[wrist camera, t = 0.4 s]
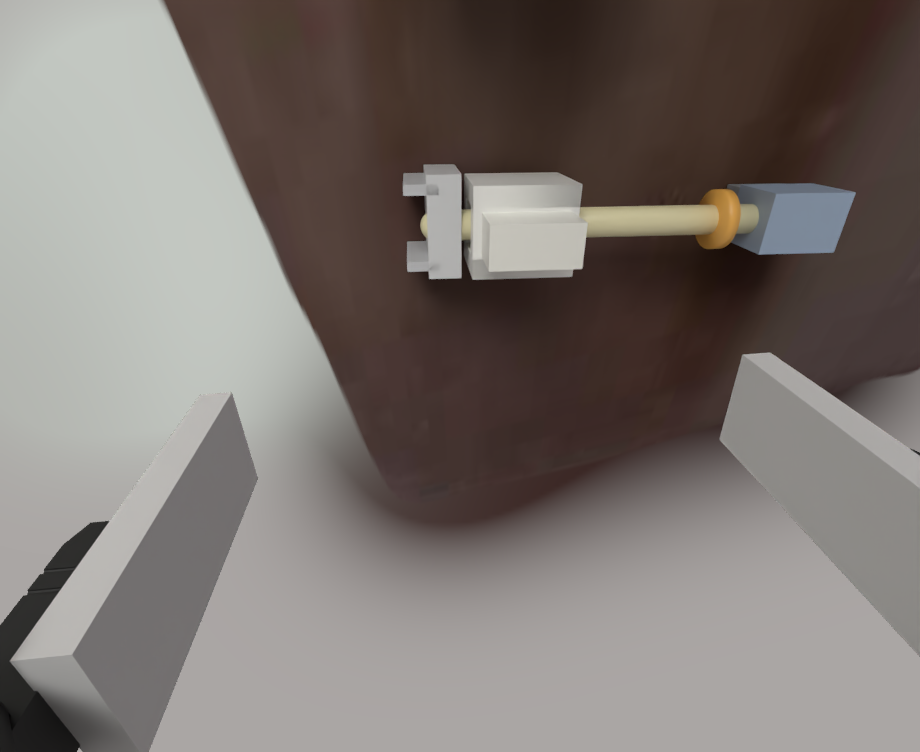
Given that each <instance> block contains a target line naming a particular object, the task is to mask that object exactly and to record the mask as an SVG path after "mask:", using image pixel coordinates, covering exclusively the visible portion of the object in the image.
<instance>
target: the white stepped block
mask: <svg viewBox="0 0 920 752" xmlns="http://www.w3.org/2000/svg"><path fill="white" fill-rule="evenodd" d="M582 186H583V184H581V183H579V182H577V181H575V180H573V179H571V178H569V177H566V176H564V175H562V174H560V173H558V172H540V173H467V174H464V209H471V240H464V257H465V260H466V263H467V266H468V269H469V271H470V274H471V277H472V280H485V279H518V278H550V277H572V275H573V269H582V267H583V259H584V251H585V243H586V234H587V226H588V222H586V221H585V220H583V219H582V218H580V217H579V213H580V204H581V195H582Z"/></svg>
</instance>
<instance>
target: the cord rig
mask: <svg viewBox="0 0 920 752" xmlns="http://www.w3.org/2000/svg"><path fill="white" fill-rule="evenodd" d="M423 168H424V173H404V174H403V196H424V197H425V215H424V216H423V217H422V219H421V223H420V227H421V231H422V233H423V235H424V236H425V237H426V241H407V271H408V272H420V271H428V273H429V279H451V278H461V240H471V209H461V173H460V172H459V170H458V169H457V167H456V166H455V165H454V164H431V165H423ZM855 193H856V192H852V191H847V190H842V189H838V188H833V187H828V186H823V185H818V184H813V183H806V184H783V183H778V184H728V185H727V189H713V190H710V191H709V192H707V193H706V194H705V195H704V197H703V198H702V200H701V201H700V203H699V205H667V206H615V207H580V213H579V217H580V218H582V219H583V220H585V221H586V222H588V226H587V234H586V237H624V236H666V235H696V239H697V241H698V243H699V245H700V246H701V247H703V248H705V249H721V248H724V247H726V246H727V245H729V243H730V242H731V243H733V244H736V245H738V246H740V247H742V248H745V249H747V250H749V251H752V252H754V253H756V254H758V255H761V254H797V253H833V252H834V250H835V247H836V245H837V242H838V239H839V237H840V234H841V231H842V229H843V226H844V223H845V220H846V218H847V215H848V212H849V210H850V207H851V204H852V202H853V199H854V196H855Z"/></svg>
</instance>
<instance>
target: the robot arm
mask: <svg viewBox="0 0 920 752" xmlns="http://www.w3.org/2000/svg"><path fill="white" fill-rule="evenodd" d="M719 440H720V441H721V442H722V443H723V444H724V445H725V446H726V447H727V448H728V449H729V451H730V452H731V453H732V454H733V455H734V456H735V457H736V458H737V459H738V460H739V461H740V462H741V464H742V465H743V466H744V467H746V469H747V470H748V471H749V472H750V473H751V474H752V475H753V476H754V477H755V479H756V480H757V481H758V482H759V483H760V484H761V485H762V486H763V487H764V488H765V490H767V492H768V493H769V494H770V495H771V496H772V497H773V498H774V499H775V500H776V501H777V502H778V503H779V505H780V506H781V507H782V508H783V509H784V510H785V511H786V512H787V513H788V514H789V515H790V517H791V518H792V519H793V520H794V521H795V522H796V523H797V524H798V525H799V526H800V527H801V528H802V530H803V531H804V532H805V533H806V534H807V535H808V536H809V537H810V538H811V539H812V540H813V542H814V543H815V544H816V545H817V546H818V547H819V548H820V549H821V550H822V551H823V552H824V553H825V554H826V556H828V558H829V559H830V560H831V561H832V562H833V563H834V564H835V565H836V566H837V568H838V569H839V570H840V571H841V572H842V573H843V574H844V575H845V576H846V577H847V578H848V579H849V580H850V582H851V583H852V584H853V585H854V586H855V587H856V588H857V589H858V590H859V591H860V592H861V593H862V594H863V596H864V597H865V598H866V599H867V600H868V601H869V602H870V603H871V604H872V605H873V606H874V608H875V609H876V610H877V611H878V612H879V613H880V614H881V615H882V616H883V617H884V618H885V619H886V621H887V622H888V623H889V624H890V625H891V626H892V627H893V628H894V629H895V630H896V631H897V632H898V633H899V635H900V636H901V637H902V638H903V639H904V640H905V641H906V642H907V643H908V644H909V645H910V647H912V649H913V650H914V651H915V652H916V653H917V654H918V655H919V656H920V453H919V452H917V451H915V450H912V449H909V448H908V447H906V446H905V445H903V444H902V443H901V442H899V441H898V440H896V439H895V438H893V437H892V436H890V435H889V434H887V433H886V432H885V431H883V430H882V429H880V428H879V427H877V426H876V425H875V424H873V423H872V422H870V421H869V420H867V419H866V418H864V417H863V416H861V415H860V414H859V413H857V412H856V411H854V410H853V409H851V408H850V407H848V406H847V405H846V404H844V403H843V402H841V401H840V400H838V399H837V398H835V397H834V396H832V395H831V394H830V393H828V392H827V391H825V390H824V389H822V388H821V387H819V386H818V385H817V384H815V383H814V382H812V381H811V380H809V379H808V378H806V377H805V376H804V375H802V374H801V373H799V372H798V371H796V370H795V369H793V368H792V367H791V366H789V365H788V364H786V363H785V362H783V361H782V360H780V359H779V358H777V357H776V356H775V355H773V354H772V353H758V354H744V355H742V358H741V362H740V366H739V369H738V373H737V377H736V380H735V384H734V388H733V391H732V395H731V399H730V402H729V406H728V410H727V413H726V417H725V421H724V424H723V428H722V432H721V435H720V439H719ZM257 480H258V477H257V474H256V471H255V468H254V464H253V461H252V458H251V454H250V451H249V448H248V444H247V441H246V438H245V435H244V431H243V428H242V424H241V421H240V418H239V415H238V412H237V408H236V405H235V401H234V398H233V395H232V393H217V394H203V395H199V397H198V398H197V400H196V401H195V402H194V404H193V405H192V407H191V408H190V409H189V411H188V412H187V414H186V415H185V416H184V418H183V419H182V421H181V422H180V423H179V425H178V426H177V428H176V429H175V430H174V432H173V433H172V435H171V436H170V437H169V439H168V440H167V442H166V443H165V444H164V446H163V447H162V449H161V450H160V451H159V453H158V454H157V456H156V457H155V458H154V460H153V461H152V463H151V464H150V465H149V467H148V468H147V470H146V471H145V472H144V474H143V475H142V477H141V478H140V479H139V481H138V482H137V484H136V485H135V487H134V488H133V489H132V491H131V492H130V493H129V495H128V496H127V498H126V499H125V500H124V502H123V503H122V505H121V506H120V508H119V509H118V510H117V512H116V513H115V514H114V516H113V517H112V519H111V520H110V521H105V522H94V523H90V524H89V525H87V526H86V527H85V528H84V529H83V530H81V531H80V532H79V533H77V534H76V535H75V536H74V537H72V538H71V539H70V540H69V541H67V542H66V543H65V544H64V545H63V546H62V547H61V548H60V549H59V551H58V552H57V553H56V555H55V556H54V557H53V559H52V560H51V561H50V562H49V564H48V565H47V566H46V568H45V569H44V574H40V575H39V576H38V578H37V579H36V580H35V582H34V583H33V584H32V586H31V587H30V588H29V589H28V594H27V595H26V596H23V597H22V598H21V599H20V601H19V602H18V603H17V605H16V606H15V607H14V608H13V610H12V611H11V612H10V614H9V615H8V616H7V617H6V619H5V620H4V622H3V623H2V624H1V625H0V752H77V750H78V748H80V749H81V750H82V751H83V752H149V749H150V747H151V744H152V742H153V739H154V737H155V735H156V732H157V730H158V727H159V724H160V722H161V719H162V717H163V714H164V712H165V710H166V707H167V705H168V702H169V699H170V697H171V695H172V692H173V690H174V687H175V684H176V682H177V679H178V677H179V674H180V672H181V670H182V667H183V664H184V662H185V659H186V657H187V655H188V652H189V649H190V647H191V645H192V642H193V639H194V637H195V635H196V632H197V629H198V627H199V625H200V622H201V619H202V617H203V615H204V612H205V610H206V607H207V605H208V602H209V600H210V597H211V595H212V592H213V590H214V587H215V585H216V582H217V580H218V577H219V575H220V572H221V570H222V567H223V564H224V562H225V559H226V557H227V555H228V552H229V550H230V547H231V545H232V542H233V540H234V537H235V535H236V532H237V530H238V527H239V525H240V522H241V520H242V517H243V515H244V512H245V510H246V507H247V505H248V502H249V500H250V497H251V495H252V492H253V490H254V487H255V485H256V482H257Z"/></svg>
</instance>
